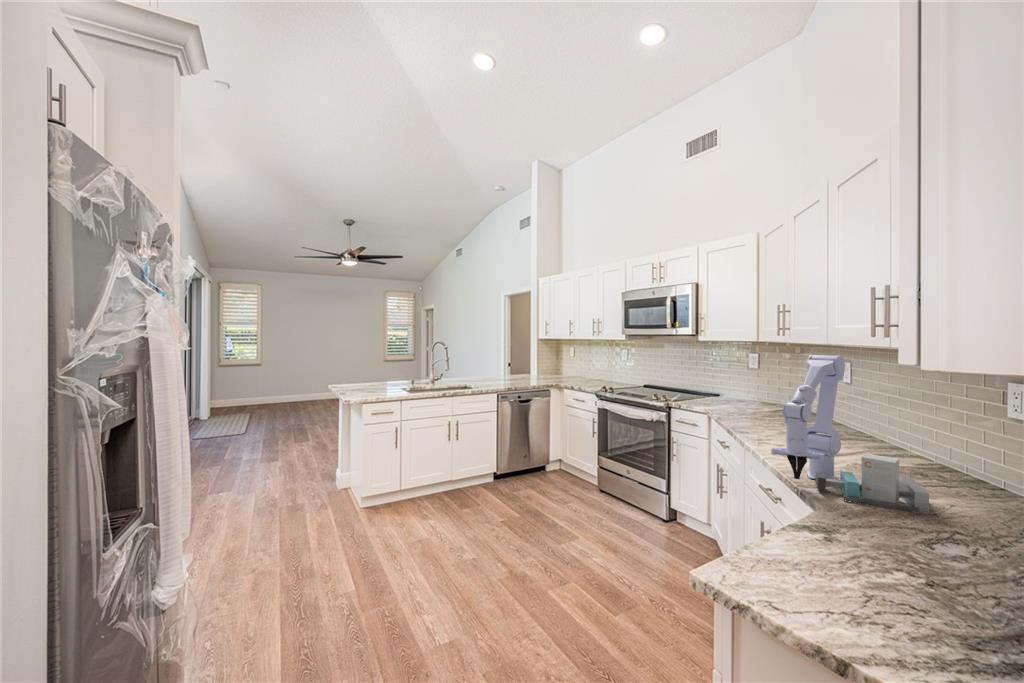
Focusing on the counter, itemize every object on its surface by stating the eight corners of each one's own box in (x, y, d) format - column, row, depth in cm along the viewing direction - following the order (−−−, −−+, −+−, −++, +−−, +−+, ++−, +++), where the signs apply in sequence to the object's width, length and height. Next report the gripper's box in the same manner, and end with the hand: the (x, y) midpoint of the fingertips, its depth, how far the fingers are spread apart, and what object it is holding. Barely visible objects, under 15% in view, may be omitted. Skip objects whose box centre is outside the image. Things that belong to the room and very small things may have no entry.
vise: (835, 485, 139) (835, 468, 139) (911, 496, 129) (911, 477, 129) (844, 501, 126) (844, 481, 126) (929, 514, 116) (929, 493, 116)
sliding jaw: (814, 483, 140) (814, 467, 140) (852, 489, 135) (852, 472, 135) (819, 494, 131) (819, 477, 131) (859, 500, 125) (859, 483, 125)
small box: (899, 500, 126) (899, 458, 126) (896, 506, 122) (896, 462, 122) (865, 492, 132) (865, 452, 132) (861, 497, 128) (861, 456, 128)
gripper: (771, 438, 138) (771, 478, 138) (825, 443, 131) (825, 485, 131) (771, 433, 144) (771, 471, 144) (822, 438, 137) (822, 478, 137)
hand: (796, 478), depth 138 cm, fingers closed
